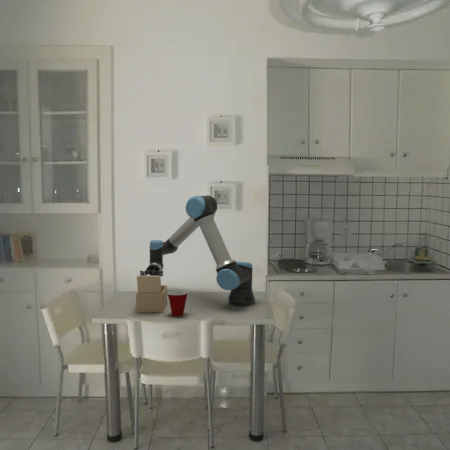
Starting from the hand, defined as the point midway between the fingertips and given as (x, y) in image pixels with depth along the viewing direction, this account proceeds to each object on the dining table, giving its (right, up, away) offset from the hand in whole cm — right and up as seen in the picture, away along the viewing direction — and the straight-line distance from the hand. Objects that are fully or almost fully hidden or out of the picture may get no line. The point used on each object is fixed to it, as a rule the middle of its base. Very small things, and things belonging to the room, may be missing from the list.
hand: (146, 279), depth 238 cm
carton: (+1, -16, +12) cm, 20 cm away
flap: (+1, -7, +3) cm, 8 cm away
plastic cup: (+16, -18, -1) cm, 24 cm away
